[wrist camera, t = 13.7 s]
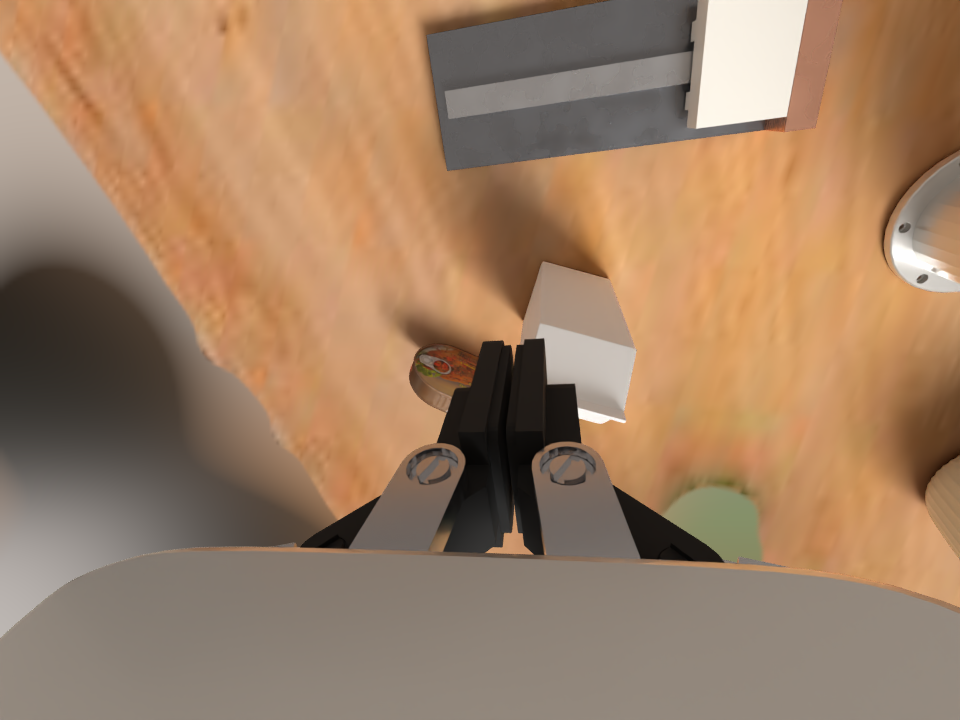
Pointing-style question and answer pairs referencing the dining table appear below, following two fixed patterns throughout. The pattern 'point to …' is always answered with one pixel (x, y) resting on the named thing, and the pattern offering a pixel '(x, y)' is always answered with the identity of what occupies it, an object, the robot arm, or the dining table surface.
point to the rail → (594, 81)
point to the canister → (946, 502)
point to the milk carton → (582, 339)
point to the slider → (743, 60)
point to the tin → (441, 373)
